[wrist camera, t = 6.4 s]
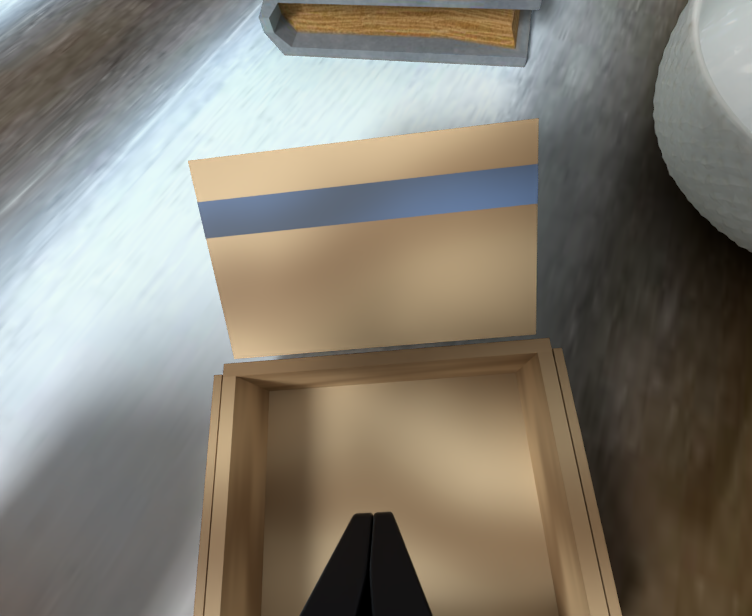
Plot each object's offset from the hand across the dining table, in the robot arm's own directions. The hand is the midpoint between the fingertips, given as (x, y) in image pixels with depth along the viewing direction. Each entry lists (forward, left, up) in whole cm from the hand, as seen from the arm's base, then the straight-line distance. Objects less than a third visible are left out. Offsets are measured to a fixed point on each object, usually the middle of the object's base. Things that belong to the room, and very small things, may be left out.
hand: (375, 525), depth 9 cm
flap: (+6, -6, -2) cm, 8 cm away
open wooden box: (-1, +1, -9) cm, 9 cm away
